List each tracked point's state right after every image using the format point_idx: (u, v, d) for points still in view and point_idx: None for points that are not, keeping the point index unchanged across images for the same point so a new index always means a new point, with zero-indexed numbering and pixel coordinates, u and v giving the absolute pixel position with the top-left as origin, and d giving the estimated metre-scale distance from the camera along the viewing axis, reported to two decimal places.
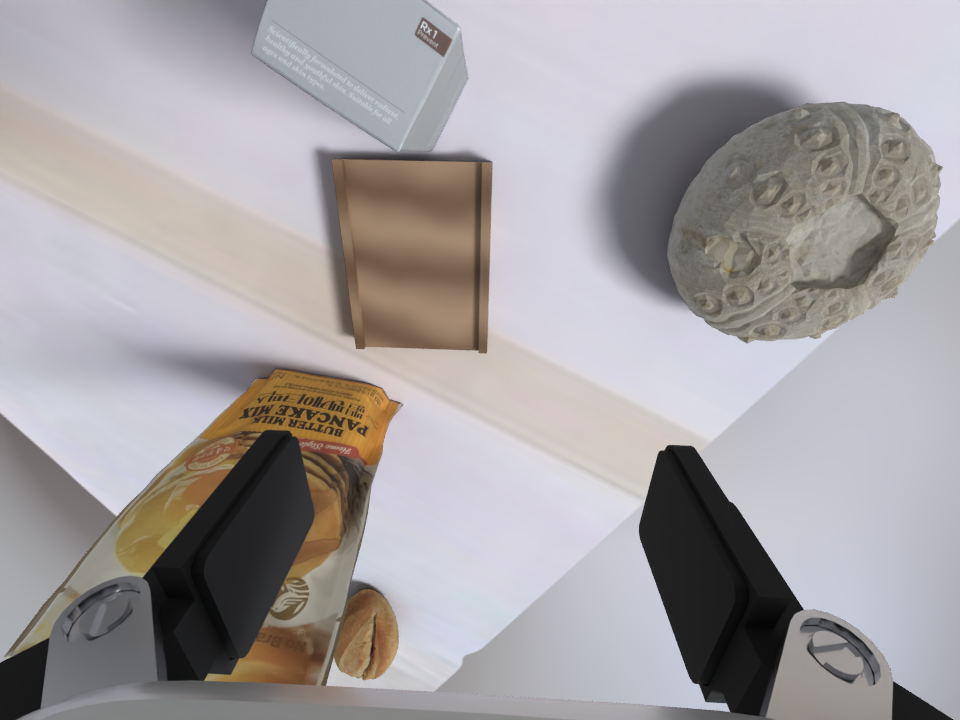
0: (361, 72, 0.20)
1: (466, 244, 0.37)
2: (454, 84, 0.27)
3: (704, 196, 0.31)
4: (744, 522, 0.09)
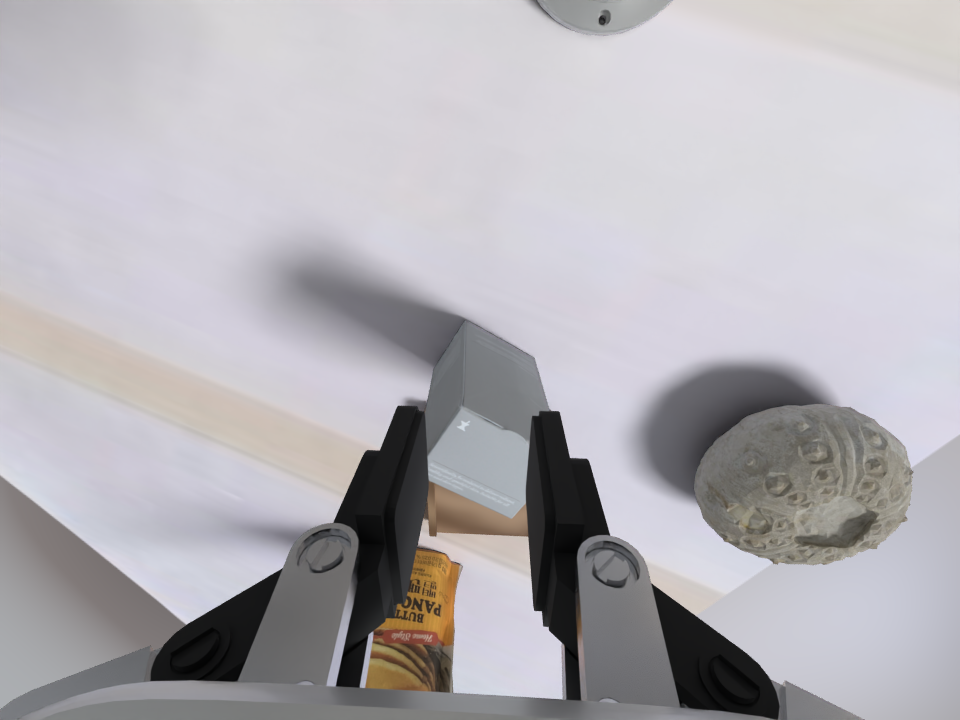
0: (491, 483, 0.28)
1: None
2: None
3: (726, 468, 0.39)
4: (591, 474, 0.10)
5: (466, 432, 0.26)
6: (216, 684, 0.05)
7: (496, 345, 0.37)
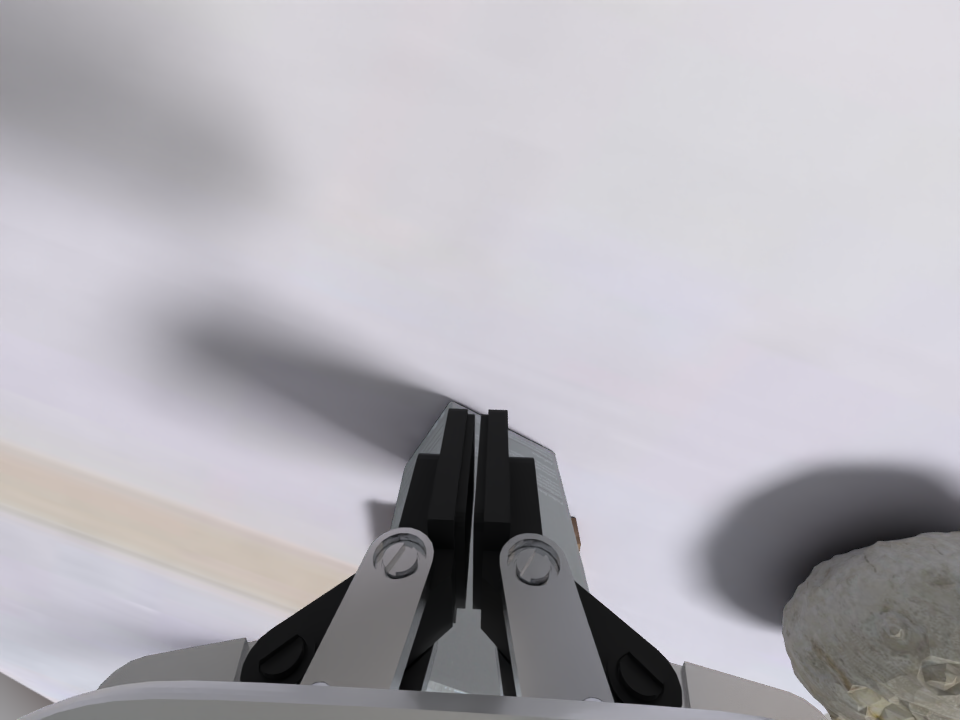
0: None
1: None
2: None
3: (848, 629, 0.25)
4: (534, 473, 0.10)
5: None
6: (216, 684, 0.05)
7: None
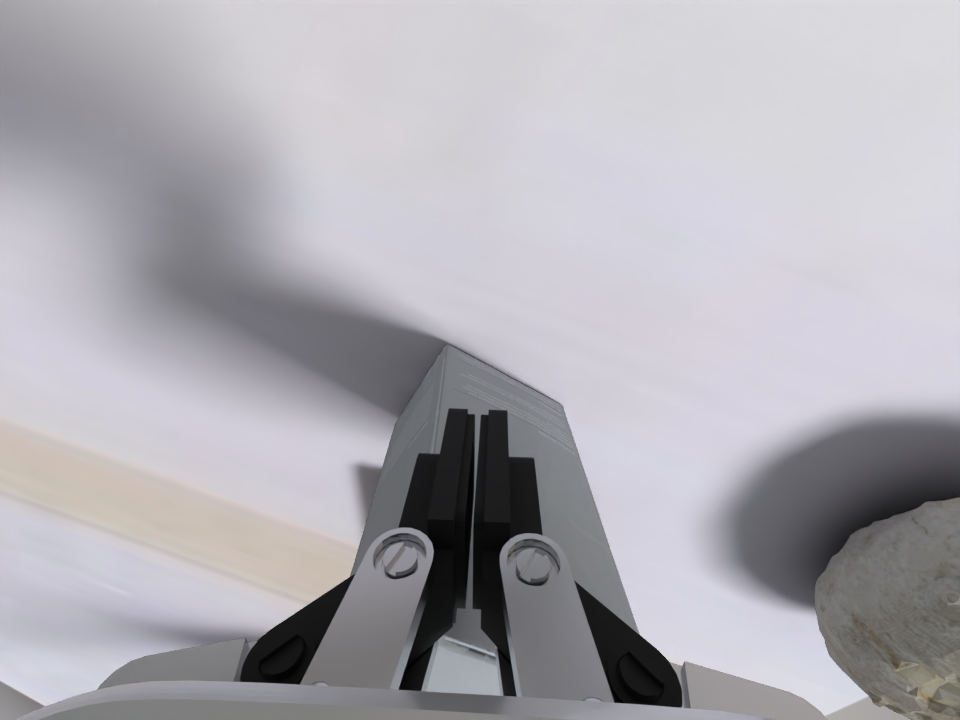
0: None
1: None
2: None
3: (895, 599, 0.22)
4: (534, 473, 0.10)
5: None
6: (216, 684, 0.05)
7: (499, 391, 0.21)
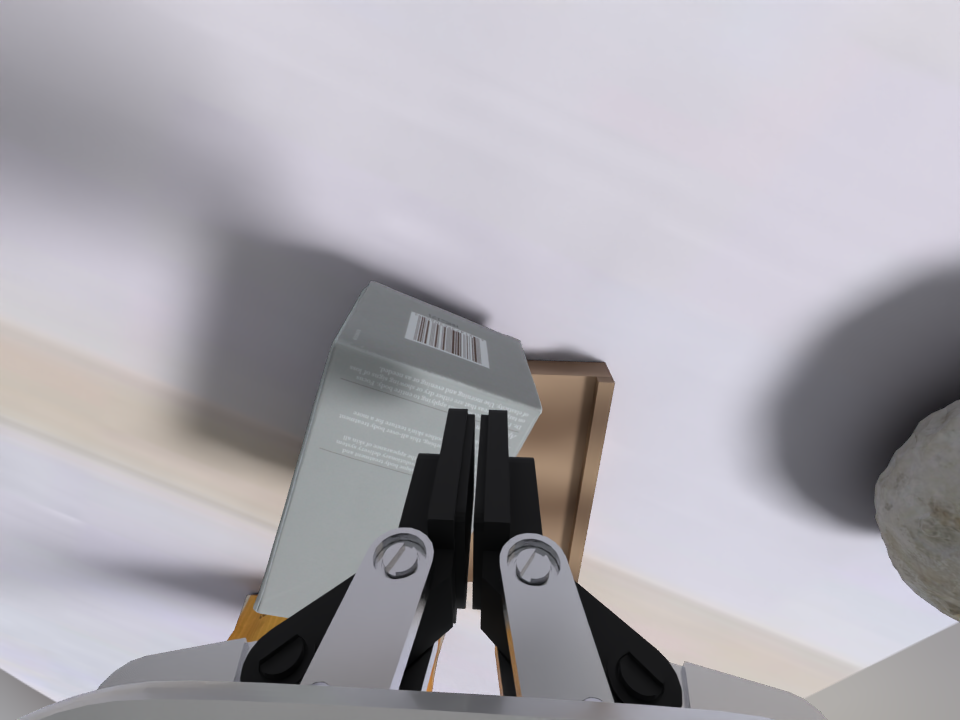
0: None
1: (558, 472, 0.25)
2: None
3: None
4: (534, 473, 0.10)
5: None
6: (216, 684, 0.05)
7: (399, 433, 0.16)
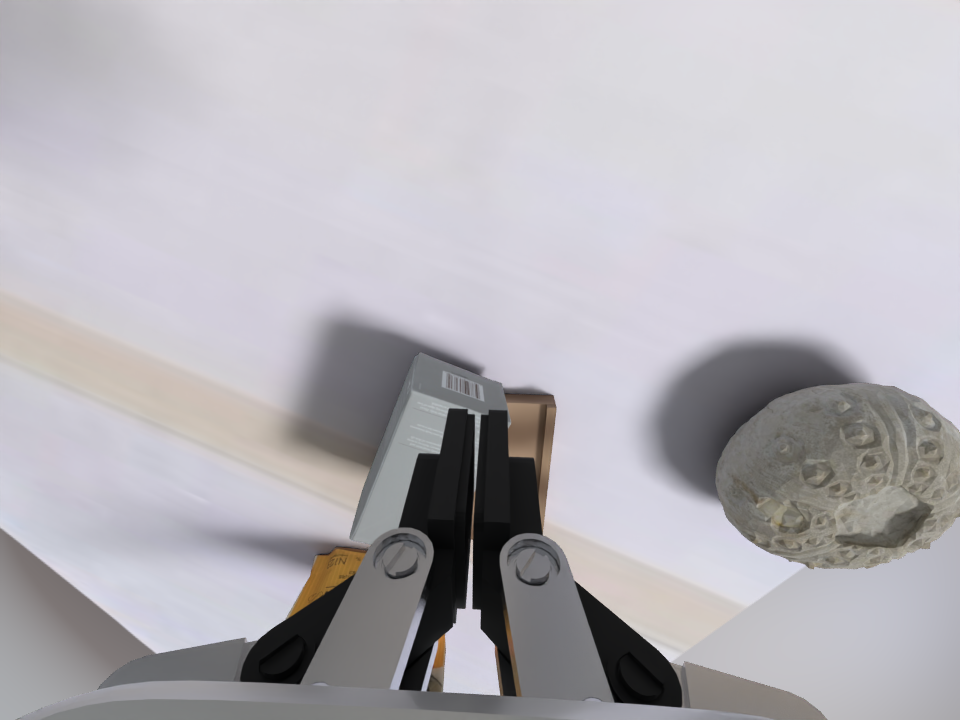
0: None
1: None
2: None
3: (754, 457, 0.34)
4: (534, 473, 0.10)
5: None
6: (216, 684, 0.05)
7: (439, 434, 0.31)
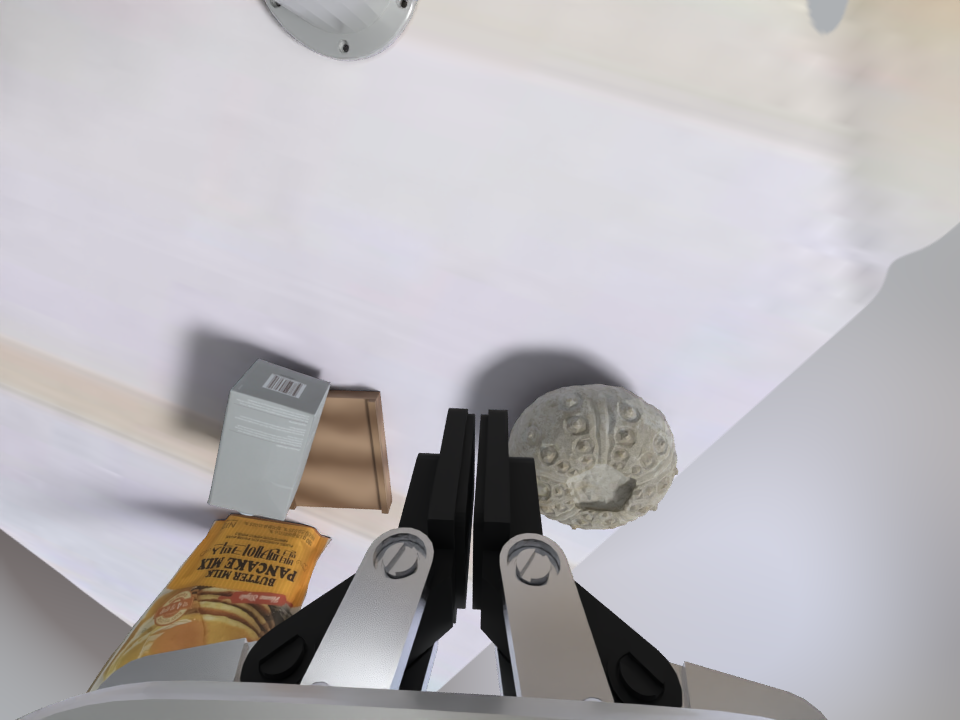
0: None
1: (364, 445, 0.50)
2: (303, 463, 0.45)
3: (517, 441, 0.43)
4: (534, 473, 0.10)
5: None
6: (216, 684, 0.05)
7: (258, 423, 0.41)
